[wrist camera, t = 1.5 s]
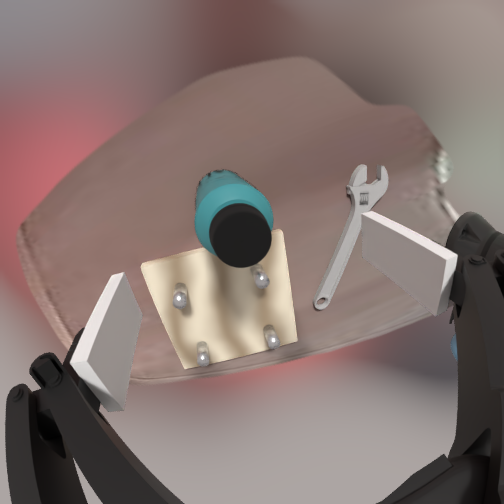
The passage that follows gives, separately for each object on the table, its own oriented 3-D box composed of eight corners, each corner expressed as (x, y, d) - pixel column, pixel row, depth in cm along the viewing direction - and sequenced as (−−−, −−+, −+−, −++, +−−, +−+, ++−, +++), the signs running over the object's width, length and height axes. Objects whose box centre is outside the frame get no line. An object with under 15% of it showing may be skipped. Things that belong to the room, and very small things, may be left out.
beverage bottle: (230, 223, 38) (263, 302, 19) (186, 202, 35) (174, 266, 17) (253, 181, 36) (313, 221, 18) (209, 158, 34) (222, 171, 16)
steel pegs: (261, 262, 39) (268, 274, 35) (274, 331, 44) (281, 347, 40) (172, 284, 38) (170, 298, 34) (198, 350, 43) (199, 367, 39)
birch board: (279, 228, 39) (282, 232, 38) (294, 335, 47) (297, 341, 46) (142, 263, 37) (140, 267, 36) (184, 363, 45) (184, 369, 44)
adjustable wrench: (322, 306, 47) (326, 311, 45) (290, 298, 45) (294, 304, 43) (386, 172, 39) (393, 174, 38) (357, 154, 37) (364, 155, 36)
